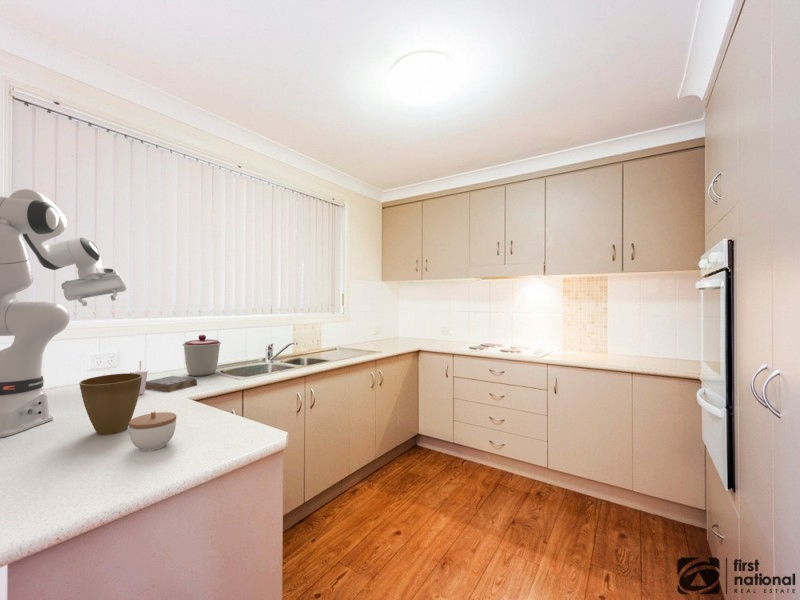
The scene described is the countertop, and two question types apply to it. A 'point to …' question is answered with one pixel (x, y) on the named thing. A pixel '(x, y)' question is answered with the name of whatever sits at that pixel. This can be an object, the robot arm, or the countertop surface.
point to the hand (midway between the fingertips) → (99, 302)
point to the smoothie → (144, 377)
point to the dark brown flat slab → (170, 383)
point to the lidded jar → (152, 430)
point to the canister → (201, 356)
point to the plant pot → (111, 401)
